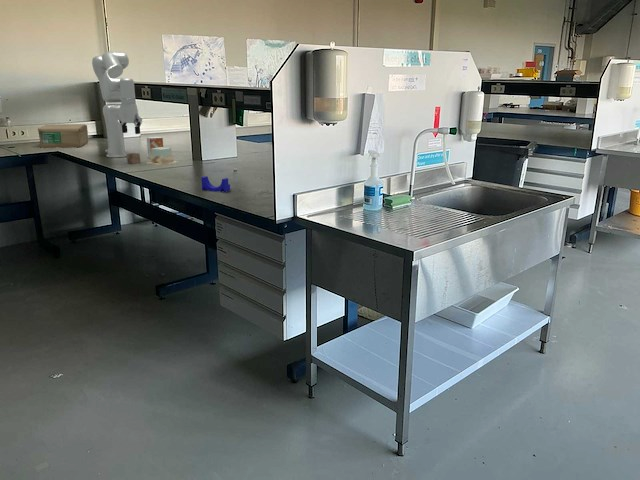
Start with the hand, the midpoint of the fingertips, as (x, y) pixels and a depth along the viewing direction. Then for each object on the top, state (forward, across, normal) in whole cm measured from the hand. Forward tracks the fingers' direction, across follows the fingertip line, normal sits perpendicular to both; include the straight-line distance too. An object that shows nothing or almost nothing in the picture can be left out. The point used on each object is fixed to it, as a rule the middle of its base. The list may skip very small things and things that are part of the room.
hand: (131, 133), depth 296 cm
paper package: (+17, -98, +33) cm, 105 cm away
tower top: (+13, +11, +11) cm, 20 cm away
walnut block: (+18, 0, 0) cm, 18 cm away
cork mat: (+18, +11, +11) cm, 23 cm away
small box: (+18, -3, +21) cm, 28 cm away
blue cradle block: (+19, +82, -32) cm, 90 cm away
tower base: (+17, +11, +11) cm, 23 cm away
